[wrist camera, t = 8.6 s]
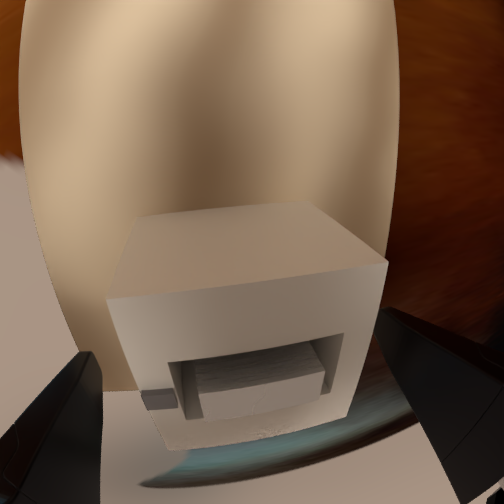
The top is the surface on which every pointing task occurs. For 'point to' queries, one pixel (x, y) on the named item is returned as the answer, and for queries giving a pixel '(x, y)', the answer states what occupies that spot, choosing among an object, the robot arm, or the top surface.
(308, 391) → the post
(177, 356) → the box
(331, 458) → the top surface
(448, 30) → the top surface
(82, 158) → the maple board
